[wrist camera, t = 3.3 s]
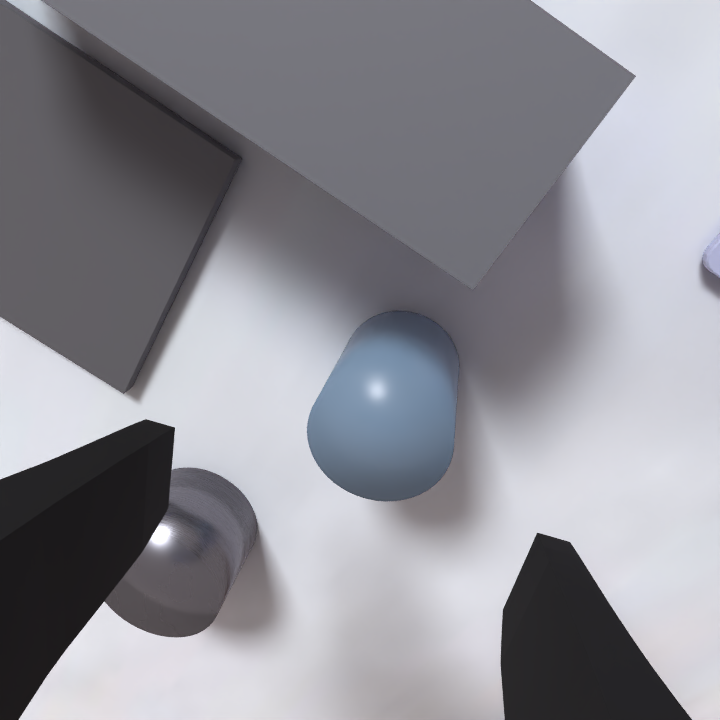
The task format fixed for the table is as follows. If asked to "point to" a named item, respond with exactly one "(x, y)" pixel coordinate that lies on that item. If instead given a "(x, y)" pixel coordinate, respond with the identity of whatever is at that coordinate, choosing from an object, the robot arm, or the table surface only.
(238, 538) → the cap
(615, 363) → the table surface
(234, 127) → the block
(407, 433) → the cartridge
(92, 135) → the mat
